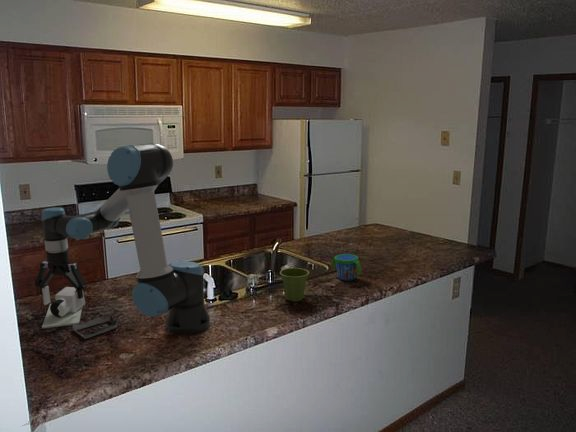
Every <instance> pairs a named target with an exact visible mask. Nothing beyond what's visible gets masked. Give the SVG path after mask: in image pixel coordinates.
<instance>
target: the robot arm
mask: <svg viewBox="0 0 576 432" xmlns="http://www.w3.org/2000/svg"><path fill="white" fill-rule="evenodd" d="M106 165H107V166H106V169H107V174H108V177H109V179H110V180H111V181H112V183H113V184H114V185H117V186H118V189H117V190H116V191H115V192H113V194H112V195H111V196H110V197H109V198H108V199H107V200H106V201H105V202H103V204H102V205H101V206H100V207H99V208H98V209H97V210H95V211H91V212H87V213H83V214H77V215H66V211H65V208H63V207H55V206H54V207H47V208H45V209H43V210H42V211H41V222H42V230H43V237H44V248H45V251H46V252H45V255H46V260H44V261H42V262H40V263H39V271H38V273H37V277H36V279H35V282H34V286H36V287H39V289H40V295H41V296H42V301H43V305H44V306H47V305H49V304H51V295H50V286H49V285H48V284H49V282H50V281H51V280H52V277H54V276H57V275H58V276H63V277H64V278H66V279H67V281H68V282H69V284H71V286H72V287H74V288H75V289H76V290H75V291H74V292H75V302H76V308H78V307H80V306H82V297H83V294H84V290H85V289H86V288H88V284H87V282H86V280H85V278H84V277H83V275H82V273H81V270H80V269H79V266H78V263H77V262H75V263H70V253H69V252H70V251H69V244H68V243H69V241H68V238H70V239H71V238H72V239H75V240H85V239H87V238H88V237H89V236H91V235H92V234H94V233H98V232H101V231H102V232H103V231H106V230H110V229H112V228H115V227H117V226H118V225H119V224H120V220H121V219H120V218H121V217H122V216H123V215H124V214H125V213H126V212H127V211H128V213H129V217H130V219H129V220H130V223H131V229H132V234H133V239H134V244H135V249H136V255H137V258H138V259H137V260H138V264H139V271H138V273H137V274H136V277H135V278H136V281H137V284H136V285H135V286H134V287H133V289H132V291H131V297H132V299H131V300H132V301H133V304H134V305H135V308H136V309H137V310H138V311H140V312H141V313H142V314H143V315H145V316H147V317H157V316H160V315H163V314H166V313H167V312H168V315H167V318H166V330H167V331H168V332H169V333H172V334H174V335H185V336H187V335H194V334H198V333H201V332H204V331H205V330H208V328H209V327H210V326H211V319H210V315H209V313H208V312H209V311H208V309H207V308H206V305H205V293H204V292H205V291H204V272H203V271H204V270H203V266H202V265H201V264H200V263H198V262H194V261H184V260H183V261H173V262H171V263H169V264H168V260H167V255H166V249H165V244H164V238H163V234H162V228H161V226H162V225H161V222H160V218H159V211H158V210H159V209H158V205H157V200H156V199H157V198H156V194H155V190H156V189H157V187H158V186H159V185H161V183H162V182H163V181H164V180H166V179H167V178H168V176H169V175H170V174H171V172H172V171H173V166H174V158H173V155H172V154H171V152H170V151H169V150H168V148H167V147H165V146H164V145H161V144H158V143H146V144H142V143H141V144H130V145H129V144H128V145H124V146H120V147H117V148H116V149H113V151H112V152H111V153H110V155H109V156H108V159H107V164H106ZM47 270H48V271H47ZM45 275H46V276H45Z"/></svg>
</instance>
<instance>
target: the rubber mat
mask: <svg viewBox="0 0 576 432" xmlns="http://www.w3.org/2000/svg"><path fill="white" fill-rule="evenodd" d="M51 304H52V303H49V305H48V309H47V312H46V315H45V317H44V319H43V323H42V325H41V329H51V328H58V327H65V326H73V325H74V324H77V323H80V320H81V315H82V310H83V307H81V308H80V309H79V310H78V311H77V312H75V313H66V314H65V315H64V316H63V317H56V316H54V315H53V314H52V313H51V311H50V306H51Z"/></svg>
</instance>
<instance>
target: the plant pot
mask: <svg viewBox="0 0 576 432" xmlns="http://www.w3.org/2000/svg"><path fill="white" fill-rule="evenodd" d="M279 274H280V275H281V280H282V283H283V284H282V286H283V291H284V296H285V299H286V300H287V301H289V302H295V303H296V302H301V301H302V300H303V299H304V296H305V290H306V285H307V284H306V283H307V281H308V277H309V274H310V271H309V270H307V269H305V268H301V267H300V268H299V267H288V268H284V269H281V270H280V271H279Z"/></svg>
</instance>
